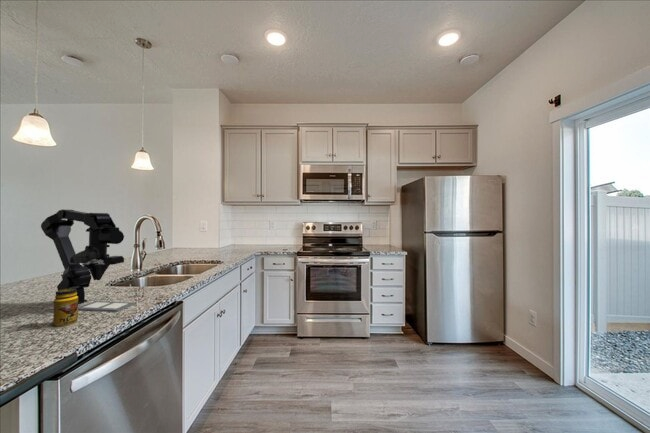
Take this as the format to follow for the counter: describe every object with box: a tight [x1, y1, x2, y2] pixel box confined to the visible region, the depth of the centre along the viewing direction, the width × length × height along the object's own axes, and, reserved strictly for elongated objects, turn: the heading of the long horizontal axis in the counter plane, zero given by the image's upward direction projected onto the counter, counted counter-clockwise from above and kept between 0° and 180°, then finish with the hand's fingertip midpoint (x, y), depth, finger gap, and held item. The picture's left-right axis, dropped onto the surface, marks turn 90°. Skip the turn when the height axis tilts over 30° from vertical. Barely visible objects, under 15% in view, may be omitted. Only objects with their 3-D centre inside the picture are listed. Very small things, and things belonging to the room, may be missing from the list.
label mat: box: [78, 300, 136, 313], centre depth 107 cm, size 18×9×1 cm, turn 87°
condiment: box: [39, 288, 84, 331], centre depth 89 cm, size 7×8×12 cm
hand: (97, 280), depth 107 cm, fingers closed
